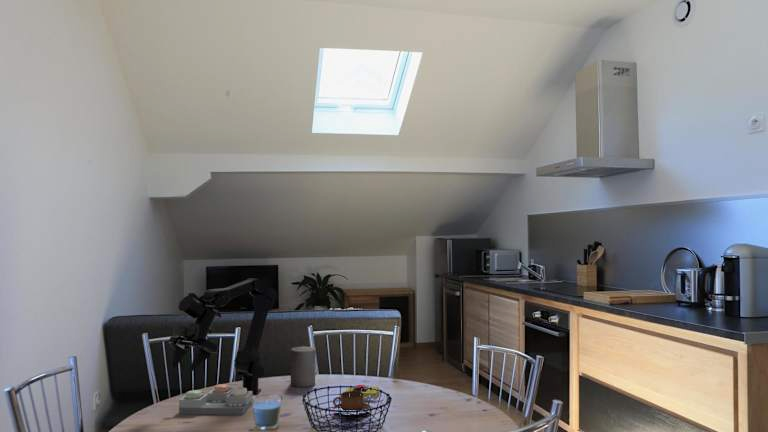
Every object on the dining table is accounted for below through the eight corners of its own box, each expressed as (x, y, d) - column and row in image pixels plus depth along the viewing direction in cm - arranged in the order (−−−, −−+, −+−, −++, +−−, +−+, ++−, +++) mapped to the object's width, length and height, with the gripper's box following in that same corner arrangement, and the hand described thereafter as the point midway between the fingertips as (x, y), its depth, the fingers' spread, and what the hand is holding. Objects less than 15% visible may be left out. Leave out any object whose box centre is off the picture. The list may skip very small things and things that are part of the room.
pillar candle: (285, 384, 215) (285, 345, 216) (304, 379, 223) (304, 342, 224) (301, 388, 209) (302, 348, 210) (320, 383, 217) (320, 345, 217)
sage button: (189, 397, 185) (189, 390, 185) (203, 397, 185) (203, 390, 185) (183, 401, 180) (183, 394, 181) (198, 402, 180) (198, 394, 180)
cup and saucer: (340, 421, 172) (341, 401, 172) (328, 410, 183) (328, 391, 183) (376, 416, 177) (376, 396, 177) (362, 406, 188) (362, 387, 188)
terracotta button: (217, 391, 193) (217, 384, 193) (230, 391, 193) (230, 384, 193) (212, 395, 188) (212, 387, 188) (226, 395, 188) (226, 387, 188)
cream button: (234, 394, 189) (234, 387, 189) (248, 394, 188) (248, 387, 188) (230, 398, 184) (230, 391, 184) (244, 399, 183) (244, 391, 184)
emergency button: (345, 382, 204) (385, 383, 202) (345, 394, 204) (385, 395, 201) (339, 388, 195) (382, 390, 192) (339, 401, 194) (382, 403, 192)
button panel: (196, 400, 194) (197, 387, 194) (255, 401, 193) (256, 388, 193) (178, 413, 179) (179, 399, 179) (242, 414, 178) (242, 400, 178)
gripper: (167, 312, 185) (145, 357, 178) (204, 315, 175) (182, 362, 168) (191, 326, 193) (170, 369, 185) (227, 329, 183) (207, 375, 175)
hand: (181, 369), depth 178 cm, fingers open, 9 cm apart
